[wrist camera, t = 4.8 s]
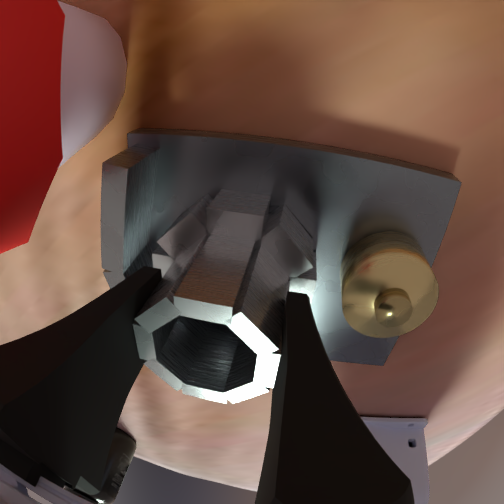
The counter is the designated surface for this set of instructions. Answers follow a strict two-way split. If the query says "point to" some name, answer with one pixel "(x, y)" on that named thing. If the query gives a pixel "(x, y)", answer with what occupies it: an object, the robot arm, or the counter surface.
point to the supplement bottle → (112, 470)
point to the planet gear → (224, 296)
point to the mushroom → (50, 100)
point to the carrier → (306, 212)
